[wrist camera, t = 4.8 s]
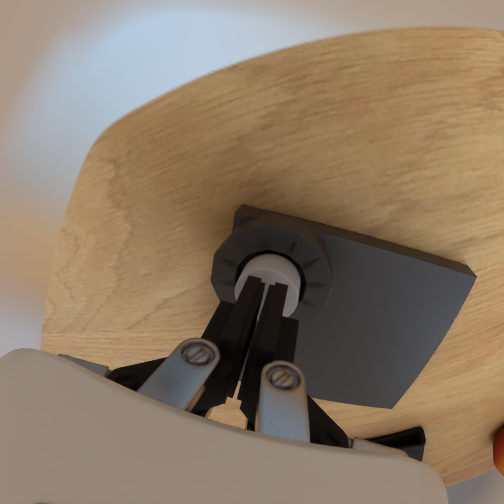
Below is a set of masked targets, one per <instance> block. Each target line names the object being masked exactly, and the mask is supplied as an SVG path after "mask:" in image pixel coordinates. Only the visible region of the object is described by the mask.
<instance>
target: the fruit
mask: <svg viewBox="0 0 504 504" xmlns="http://www.w3.org/2000/svg"><path fill="white" fill-rule="evenodd" d="M492 442H493V461H494V464H495V466H496V468H497V469H498V471H499V472H500V473H501V474H502V475H504V426H503V427H502V429H501V430H500V431H499V432H498V433H497V435H496V436H495V438H494V440H493V441H492Z"/></svg>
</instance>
